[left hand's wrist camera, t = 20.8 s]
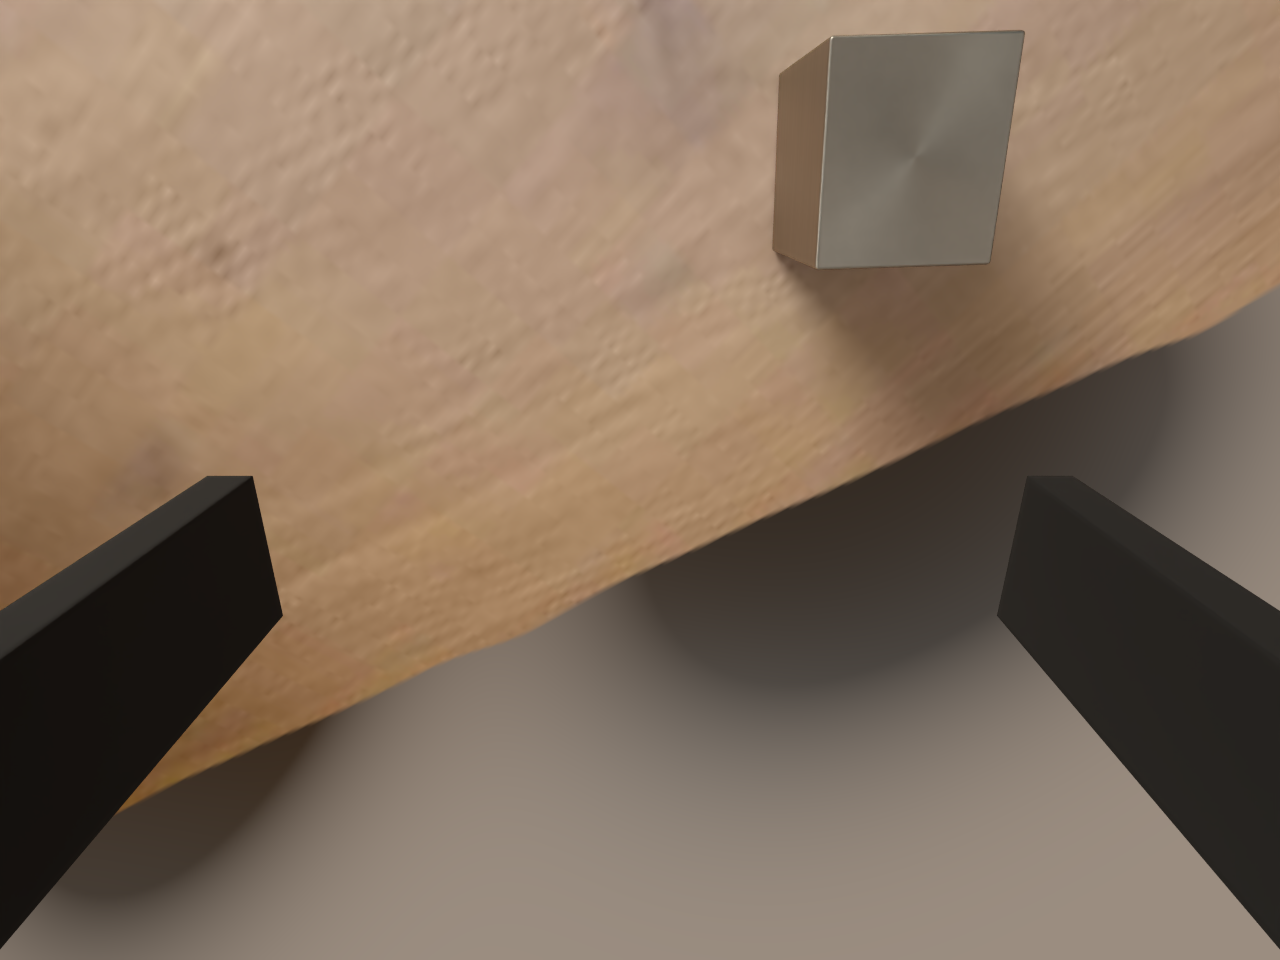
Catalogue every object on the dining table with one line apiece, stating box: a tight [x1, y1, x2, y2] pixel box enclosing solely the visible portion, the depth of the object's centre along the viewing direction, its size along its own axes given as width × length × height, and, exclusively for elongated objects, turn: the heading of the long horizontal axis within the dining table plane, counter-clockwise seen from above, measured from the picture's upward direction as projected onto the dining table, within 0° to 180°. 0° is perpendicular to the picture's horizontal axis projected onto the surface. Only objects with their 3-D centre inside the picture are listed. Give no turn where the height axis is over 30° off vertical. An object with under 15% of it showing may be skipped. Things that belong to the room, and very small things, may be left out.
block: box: [773, 30, 1025, 270], centre depth 24 cm, size 6×5×7 cm
